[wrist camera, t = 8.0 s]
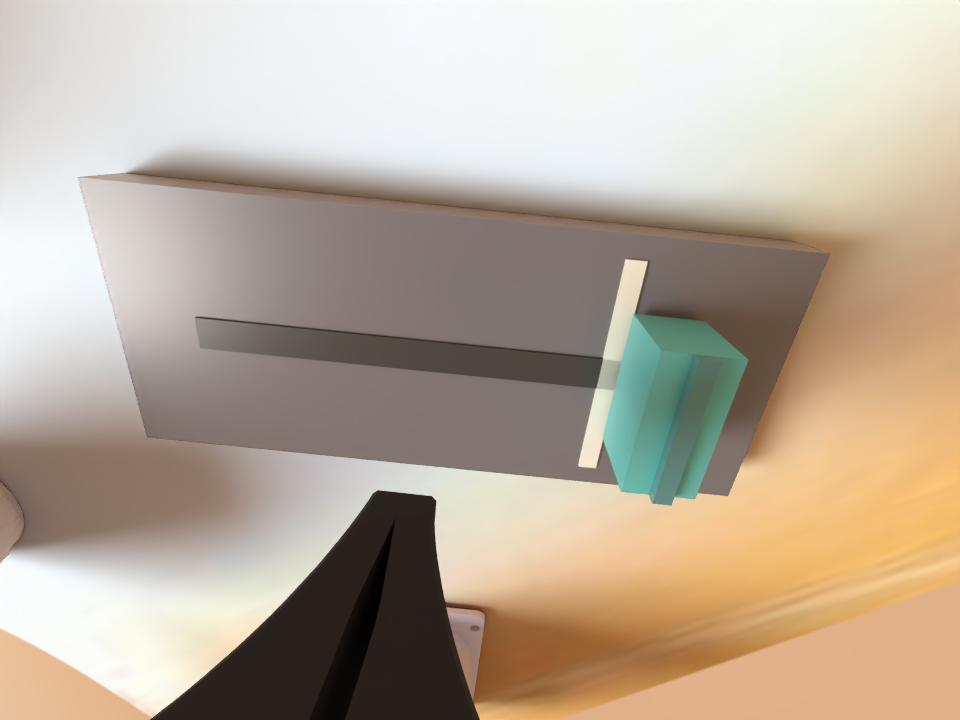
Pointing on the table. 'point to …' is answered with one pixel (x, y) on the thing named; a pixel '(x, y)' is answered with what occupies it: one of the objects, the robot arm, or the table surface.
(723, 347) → the fader tab
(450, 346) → the fader console
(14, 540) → the coffee cup
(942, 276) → the table surface
